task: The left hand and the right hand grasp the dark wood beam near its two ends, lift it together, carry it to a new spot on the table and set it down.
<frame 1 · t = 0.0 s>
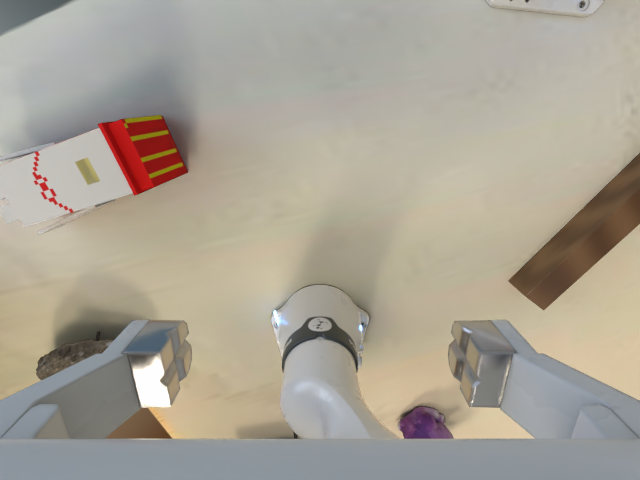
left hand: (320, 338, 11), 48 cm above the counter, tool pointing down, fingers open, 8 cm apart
fossil: (106, 346, 69), on the counter
figurine: (424, 417, 75), on the counter
red striped box: (101, 171, 56), on the counter
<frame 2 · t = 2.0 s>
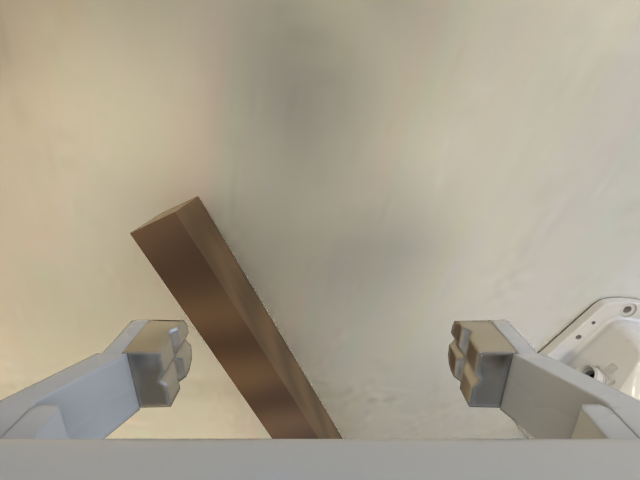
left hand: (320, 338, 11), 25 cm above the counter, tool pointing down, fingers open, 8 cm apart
beam: (333, 454, 47), on the counter
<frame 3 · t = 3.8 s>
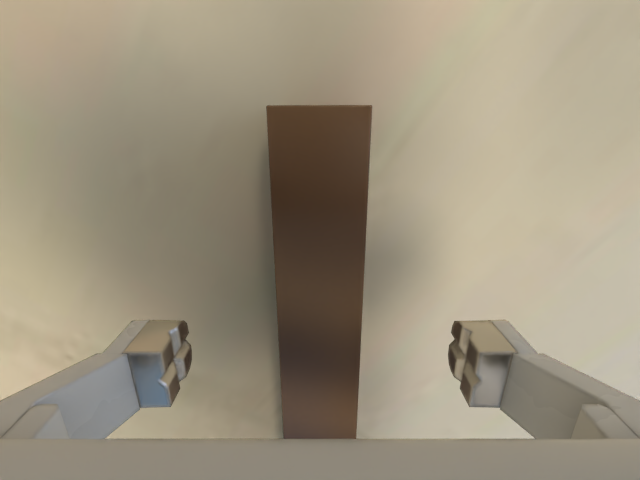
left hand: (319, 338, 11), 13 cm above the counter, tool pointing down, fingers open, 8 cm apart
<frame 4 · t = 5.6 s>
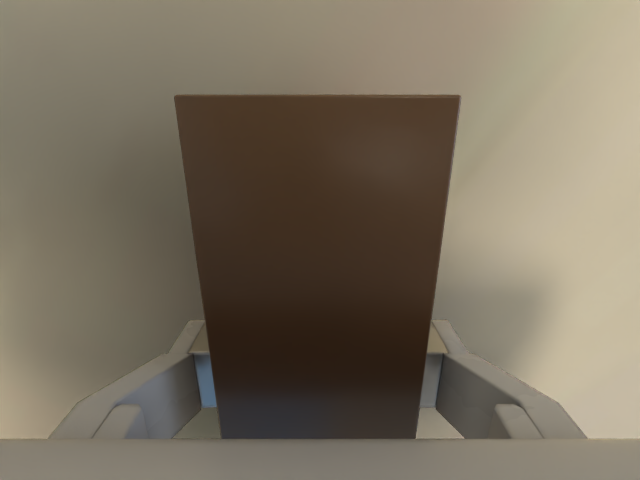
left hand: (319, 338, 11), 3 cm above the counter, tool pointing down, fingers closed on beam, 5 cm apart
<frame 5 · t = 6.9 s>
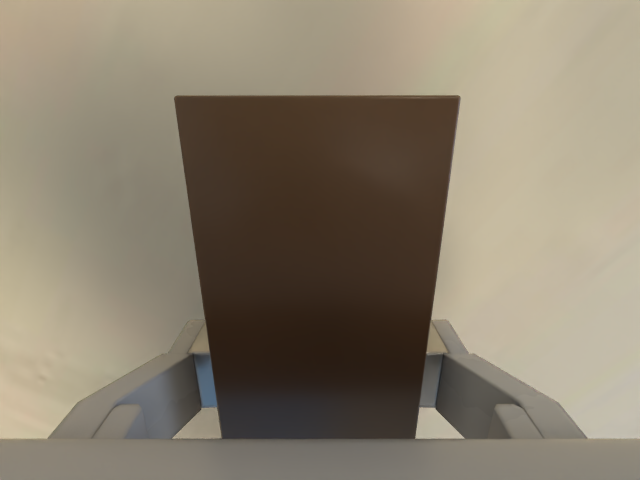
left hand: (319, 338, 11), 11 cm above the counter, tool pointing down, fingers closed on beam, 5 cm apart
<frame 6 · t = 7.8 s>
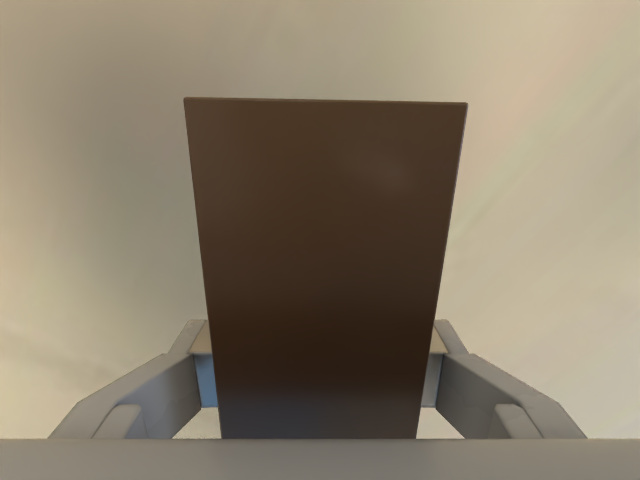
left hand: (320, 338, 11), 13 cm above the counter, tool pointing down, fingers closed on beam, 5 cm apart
when the left hand's fingers open (4 cm above the counter, at t = 10.2 s): beam stays where it is, on the counter.
when the right hand's fingers open (4 cm above the counter, at t = 10.2 s): beam stays where it is, on the counter.
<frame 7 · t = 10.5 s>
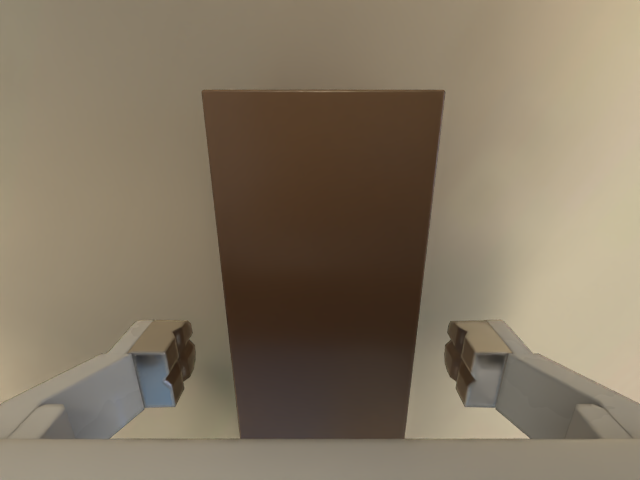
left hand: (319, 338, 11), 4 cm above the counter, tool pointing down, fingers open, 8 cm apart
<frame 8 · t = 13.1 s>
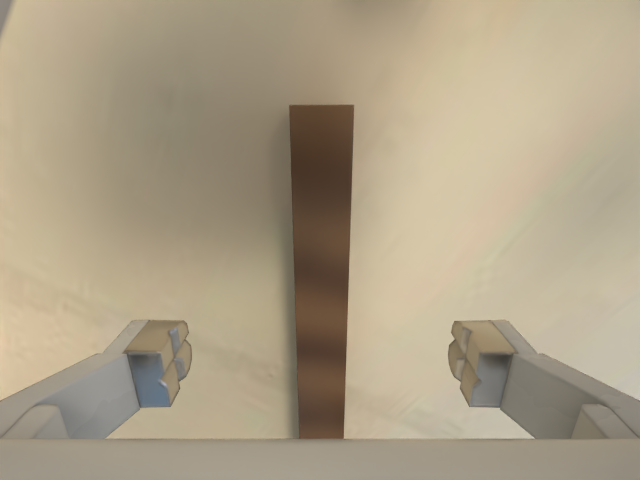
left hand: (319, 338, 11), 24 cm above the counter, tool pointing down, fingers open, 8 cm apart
beam: (321, 431, 44), on the counter
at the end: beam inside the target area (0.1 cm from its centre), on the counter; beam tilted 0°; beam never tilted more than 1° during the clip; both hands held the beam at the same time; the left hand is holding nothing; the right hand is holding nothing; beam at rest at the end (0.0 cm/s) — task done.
